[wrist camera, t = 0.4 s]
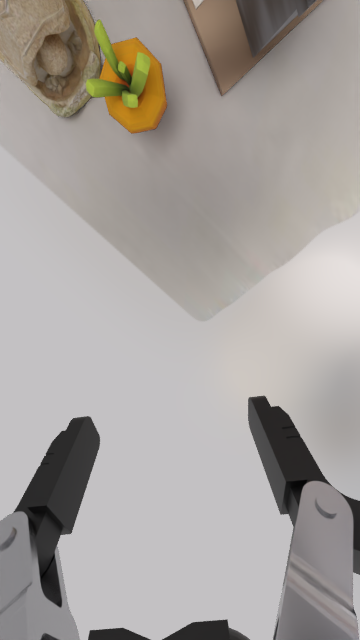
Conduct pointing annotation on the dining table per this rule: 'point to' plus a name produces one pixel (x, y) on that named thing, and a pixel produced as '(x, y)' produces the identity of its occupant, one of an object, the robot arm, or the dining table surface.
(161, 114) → the carrot
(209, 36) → the dispenser stand
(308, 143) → the dining table surface
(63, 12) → the ceramic model
